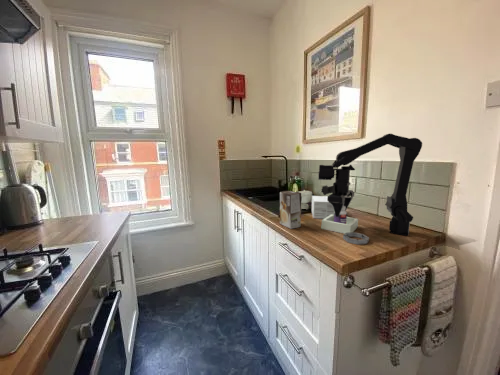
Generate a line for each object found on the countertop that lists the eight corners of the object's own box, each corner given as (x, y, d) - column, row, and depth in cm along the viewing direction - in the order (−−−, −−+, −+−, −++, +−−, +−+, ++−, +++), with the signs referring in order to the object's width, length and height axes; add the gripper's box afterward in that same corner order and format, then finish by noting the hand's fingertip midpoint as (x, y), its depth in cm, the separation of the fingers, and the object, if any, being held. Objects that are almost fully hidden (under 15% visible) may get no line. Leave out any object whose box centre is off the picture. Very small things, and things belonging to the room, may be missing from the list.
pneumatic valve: (293, 209, 135) (294, 190, 134) (309, 207, 139) (310, 188, 138) (298, 211, 130) (299, 191, 128) (314, 209, 134) (315, 190, 132)
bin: (357, 227, 102) (358, 218, 101) (350, 234, 92) (350, 225, 92) (330, 222, 109) (331, 214, 109) (321, 228, 100) (321, 220, 99)
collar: (370, 239, 87) (370, 235, 87) (365, 246, 81) (365, 242, 81) (347, 234, 93) (347, 230, 93) (341, 240, 86) (341, 237, 86)
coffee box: (301, 226, 103) (302, 193, 100) (290, 229, 100) (291, 194, 98) (289, 221, 111) (289, 190, 108) (278, 223, 108) (279, 191, 106)
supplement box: (339, 220, 113) (340, 202, 112) (313, 218, 116) (313, 201, 115) (334, 211, 130) (335, 196, 128) (311, 210, 133) (311, 195, 131)
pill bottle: (341, 229, 97) (342, 208, 96) (331, 226, 101) (331, 206, 100) (348, 227, 100) (349, 206, 99) (338, 224, 104) (339, 204, 103)
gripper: (331, 177, 110) (330, 207, 112) (316, 181, 95) (315, 215, 98) (355, 178, 103) (353, 211, 105) (342, 183, 88) (340, 220, 91)
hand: (340, 214), depth 100 cm, fingers open, 9 cm apart
